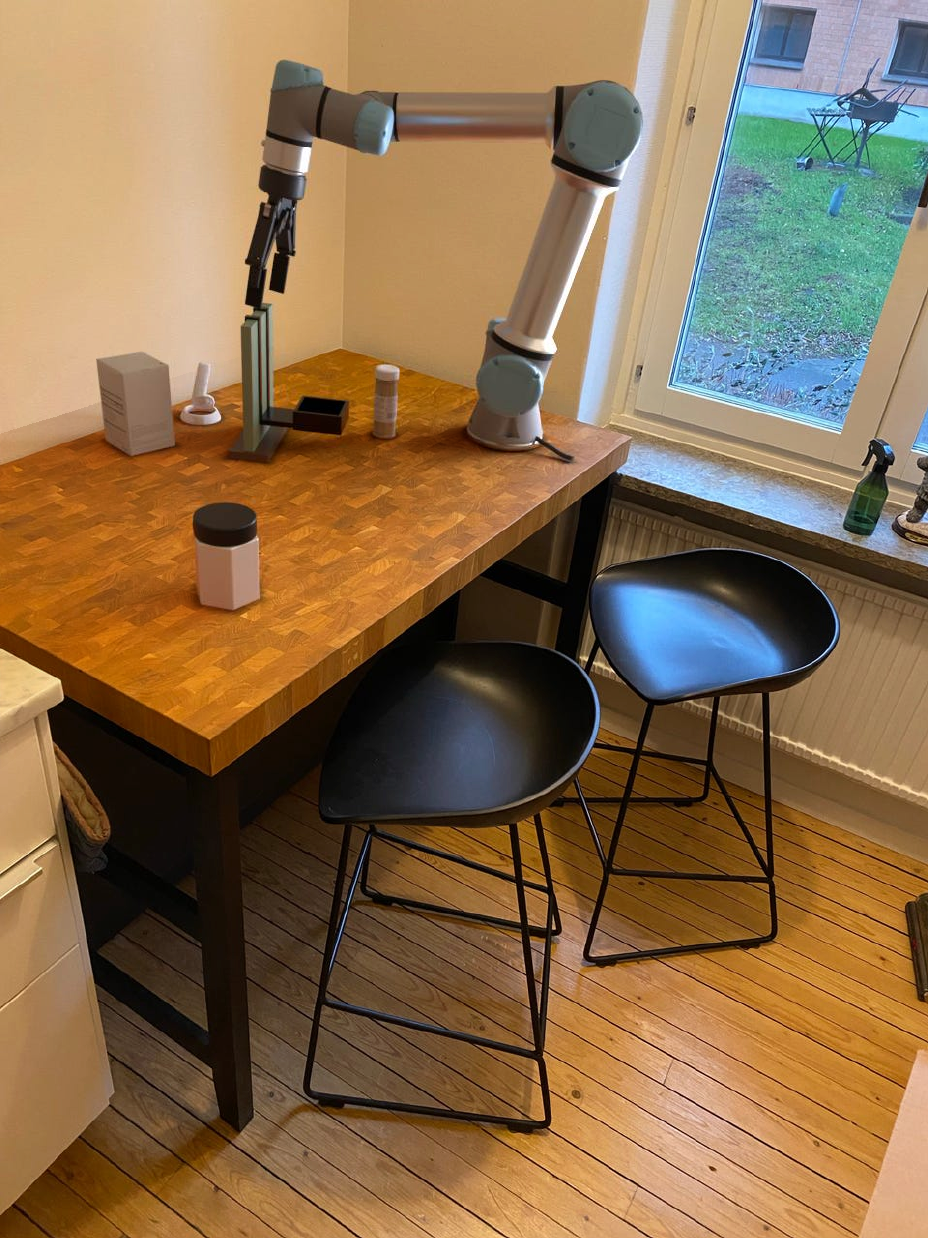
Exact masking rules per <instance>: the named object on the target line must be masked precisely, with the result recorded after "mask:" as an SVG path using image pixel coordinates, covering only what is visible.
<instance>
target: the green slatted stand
mask: <svg viewBox="0 0 928 1238" xmlns="http://www.w3.org/2000/svg"><path fill="white" fill-rule="evenodd" d="M262 307H266V308H269V366H270V407H275V406H274V404H275V403H274V401H275V400H274V304H273V303H267V302H262ZM251 315H252V316H261V356H262V415H263V413H264V412H265V410H266V409H267V373H266V311H257V310H256V311H255V312H254V313H253V312H252V313H251ZM240 351H241V352H240V357H241V359H240V361H241V392H242V393H241V394H242V395H241V396H242V398H241V399H242V401H241V402H242V431H241V432H240V433H239V435H238V437H236V439H235V441H234V442H233V443H232V445H231V447H229V449H228V451H227V452H228V459H229V460H230V459H231V460H239V461H247V462H248V461H249V462H257V463H266V464H268V463H269V462H270V460H271V458H272V457H273V455H274V453H275V452H276V450H277V448H278V446H279V444H280V443H281V441H282V440H283V438H284V436H285V434H286V433H287V431H288V429H289V428H286V427H277V426H268V425H259V373H258V320H250V319H247V320H246V321H245V320H244V322H243V323H242V324H241V325H240Z"/></svg>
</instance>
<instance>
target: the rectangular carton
mask: <svg viewBox="0 0 928 1238" xmlns="http://www.w3.org/2000/svg"><path fill="white" fill-rule="evenodd" d="M95 362H96V371H97V377H98V387H99V394H100V402H101V403H100V404H101V412H102V420H103V429H104V437H105V442H108V443H109V444H110V445H113V446H114V447H115V448H116V449H119V451H120V450H121V451H122V452H124V453H125V454H127V456H130V457H133V456H137V455H141V454H146V453H150V452H154V451H158V450H162V449H167V448H170V447H171V448H172V447H175V446H176V441H175V440H176V439H175V429H174V427H175V426H174V417H173V416H174V415H173V414H174V413H173V405H172V404H173V403H172V391H171V382H170V381H171V379H170V366H169V364H168V363H165V362H163V361H161V360H159V359H157V358H155V357H154V356H152V355H150V354H149V353H147V352H145V351H137V352H131V353H125V354H119V355H112V356H107V357H100V358H96V361H95Z"/></svg>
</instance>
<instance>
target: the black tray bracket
mask: <svg viewBox="0 0 928 1238" xmlns="http://www.w3.org/2000/svg"><path fill="white" fill-rule="evenodd" d="M256 310H257V311H266V373H267V409H266V410H265V412H264V413H263V415H262V356H261V316H252V314H253V313H254V312H255V311H256ZM252 314H245V316H244V322H245V321H246V320H247V319H250V320H258V373H259V425H268V426H277V427H286V428H288V429H292V431H299V432H306V433H315V434H324V435H331V436H340V437H341V436H342V435H343V432H344V430H345V428H346V426H347V423H348V421H349V413H350V401H349V400H345V399H344V400H343V399H336V398H328V397H319V396H309V395H301V397H300V399H299V401H298V402H297V404H296V405H295V407H294V408H288V407H287V408H286V407H278V406H274V407H270V366H269V308H266V307H262V308H261V309H259V308H255V307H252Z"/></svg>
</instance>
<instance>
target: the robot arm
mask: <svg viewBox="0 0 928 1238" xmlns="http://www.w3.org/2000/svg"><path fill="white" fill-rule="evenodd" d="M274 68H275V69H274V74H273V79H272V84H271V88H270V95H269V104H268V114H267V123H266V129H265V137H264V139H262V140H261V142H260V145H261V146H262V147H263V150H262V158H261V160H262V162H263V163H264V164H263V165H262V166H260V169H259V170H260V171H259V177H258V185H257V186H258V189H259V190H260V191H261V192H263V193H266V194H267V196H268V198H267V202H264V201H261V202H260V204H259V209H258V215H257V219H256V222H255V226H254V231H253V235H252V237H251V242H250V245H249V249H248V253H247V256H246V258H245V259H244V264H245V265H247V266H249V271H248V278H247V284H246V293H245V297H244V298H245V300H244V305H246V306H248V307H252V308H254V307H255V308H259V309H261V308H262V303H263V301H264V295H265V288H266V287H265V286H266V279H267V273H268V268H267V264H268V261H269V258H270V256H271V254H272V253H271V252H272V250H273V247H274V244H275V249H276V252H274V253H273V259H272V266H271V272H270V279H269V285H268V290H269V291H272V292H274V293H278V294H282V295H284V294H285V292H286V285H287V280H288V279H287V278H288V273H289V266H290V260H291V257H292V258H294V257H295V256H296V253H297V250H295V249H296V226H297V207H298V203H299V202H298V201H302V200H303V199H304V197H305V192H306V186H307V177H306V175H305V174H308V172H309V168H310V162H311V156H312V149H313V140H314V138H317V139H318V140H324V141H327V142H330V143H334V144H335V145H340V146H343V147H346V148H349V149H353V150H356V151H359V152H360V153H361V154H370V155H374V156H379V157H380V156H384V155H385V154H386V152H387V150H388V148H389V145H390V143H400V142H401V143H403V142H404V143H459V144H460V143H462V144H465V143H466V144H467V143H470V144H476V143H477V144H529V145H531V144H532V145H533V144H535V145H536V144H538V145H541V144H542V145H546V146H547V147H548V148H549V150H550V151H553V154H552V157H551V160H550V163H549V165H550V166H551V170H552V173H553V176H554V179H553V182H552V186H551V189H550V191H549V194H548V197H547V200H546V204H545V206H544V208H543V212H542V214H541V218H540V220H539V224H538V225H537V229H536V231H535V234H534V238H533V239H532V243H531V246H530V249H529V252H528V255H527V258H526V260H525V264H524V266H523V269H522V272H521V275H520V277H519V281H518V283H517V286H516V290H515V292H514V295H513V298H512V301H511V303H510V306H509V309H508V311H507V315H506V317H505V318H504V317H502V318H501V317H499V318H493V319H491V320H490V321H489V322H488V324H487V329H486V330H485V336H486V337H485V345H484V350H483V351H484V352H483V356H482V359H481V364H480V366H479V369H478V371H477V373H476V377H475V381H476V382H475V386H476V393H477V395H478V399H477V401H476V404H475V405H474V408H473V410H472V412H471V415H470V417H469V419H468V421H467V424H466V435H467V437H468V438H469V439H470V440H471V441H473V442H474V443H476V444H478V445H480V446H483V447H486V448H490V449H494V450H499V451H506V452H521V451H522V452H523V451H529V450H533V449H535V448H538V447H539V446H543V447H545V448H546V449H548V450H549V451H550V452H552V453H553V454H555V455H556V456H558V457H561V459H564V460H566V461H570V462H574V460H575V456H574V455H570V454H567V453H565V452H564V451H562V450H560V449H558V448H557V447H555V446H554V445H553V444H551V443H549V442H548V441H546V440H545V439H543V436H544V435H543V433H544V430H543V426H542V419H541V413H540V407H539V402H540V400H541V398H542V396H543V394H544V385H545V380H546V378H547V375H548V373H549V370H550V367H551V364H552V362H553V359H554V356H555V354H556V352H557V347H556V343H555V342H554V339H553V335H554V332H555V330H556V327H557V325H558V322H559V320H560V316H561V314H562V312H563V308H564V306H565V303H566V302H567V298H568V295H569V293H570V290H571V288H572V285H573V282H574V280H575V277H576V274H577V272H578V269H579V266H580V263H581V262H582V259H583V257H584V254H585V250H586V248H587V245H588V243H589V240H590V237H591V234H592V232H593V229H594V227H595V224H596V221H597V219H598V215H600V214H599V213H600V211H601V208H602V206H603V204H604V200H605V198H606V197H607V196H609V195H610V194H613V193H614V192H616V191H618V190H619V187H620V184H621V182H622V179H623V177H624V174H625V172H626V169H627V166H628V164H629V161H630V159H631V158H632V156H633V155H634V153H635V152H636V151H637V149H638V147H639V145H640V142H641V139H642V136H643V129H644V119H643V118H644V117H643V112H642V109H641V106H640V103H639V100H638V99H637V98H636V96H635V95H634V94H633V92H632V91H630V89H629V88H627V86H626V87H625V86H624V85H621V84H620V83H618V82H617V81H613V80H608V79H599V80H594V81H590V82H585V83H581V84H572V85H553V87H551V89H549V91H547V92H474V91H473V92H471V91H470V92H467V91H465V92H462V91H460V92H459V91H457V92H455V91H453V92H451V91H450V92H449V91H446V92H444V91H443V92H441V91H440V92H439V91H423V92H422V91H399V92H394V91H379V90H364V91H362V92H359V93H357V94H354V93H349V92H345V91H342V90H338V89H335V88H332V87H329V86H327V85H325V84H324V73H323V72H322V70H320V69H318V68H316V67H313V66H310V65H306V64H304V63H300V62H297V61H293V60H289V59H281V60H279V61H277V63H276V65H275V67H274Z"/></svg>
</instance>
